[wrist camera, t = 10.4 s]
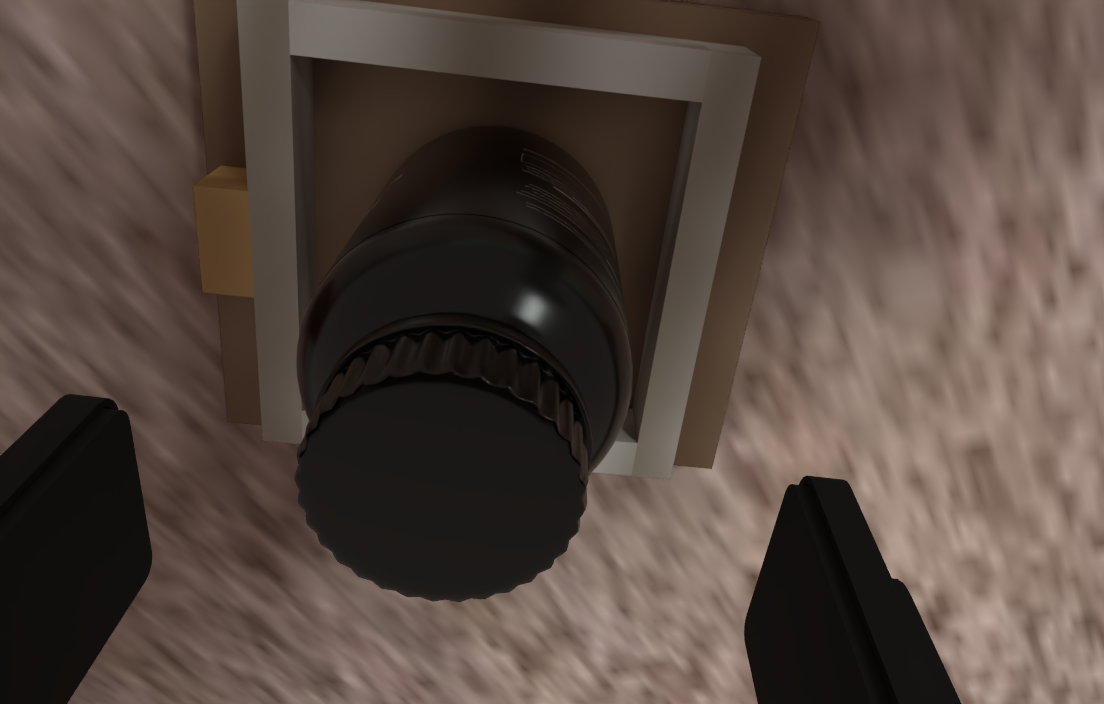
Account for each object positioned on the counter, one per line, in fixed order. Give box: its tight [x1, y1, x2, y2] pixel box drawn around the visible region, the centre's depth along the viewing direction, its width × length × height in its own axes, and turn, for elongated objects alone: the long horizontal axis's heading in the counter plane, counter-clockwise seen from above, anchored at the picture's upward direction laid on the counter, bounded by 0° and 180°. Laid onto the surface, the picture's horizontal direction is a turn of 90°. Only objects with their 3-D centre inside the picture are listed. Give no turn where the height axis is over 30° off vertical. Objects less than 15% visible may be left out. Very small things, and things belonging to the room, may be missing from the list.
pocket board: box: [193, 0, 820, 480], centre depth 24 cm, size 16×14×3 cm
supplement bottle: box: [294, 126, 633, 602], centre depth 19 cm, size 7×7×12 cm
